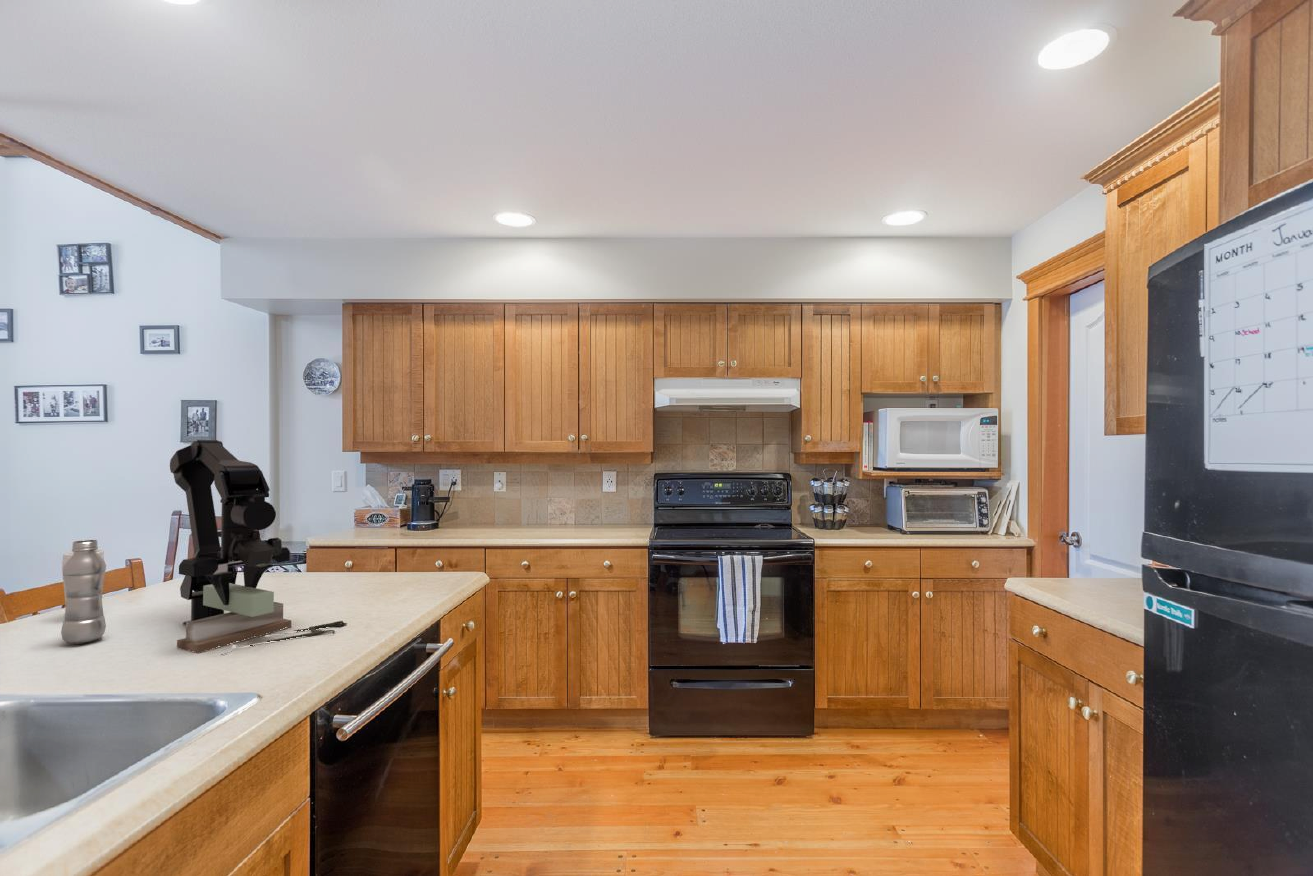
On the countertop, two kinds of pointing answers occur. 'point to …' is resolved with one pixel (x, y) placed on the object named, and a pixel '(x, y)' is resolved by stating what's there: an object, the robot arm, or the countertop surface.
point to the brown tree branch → (314, 630)
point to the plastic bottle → (83, 594)
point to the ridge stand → (230, 629)
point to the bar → (241, 600)
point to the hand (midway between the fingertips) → (237, 602)
